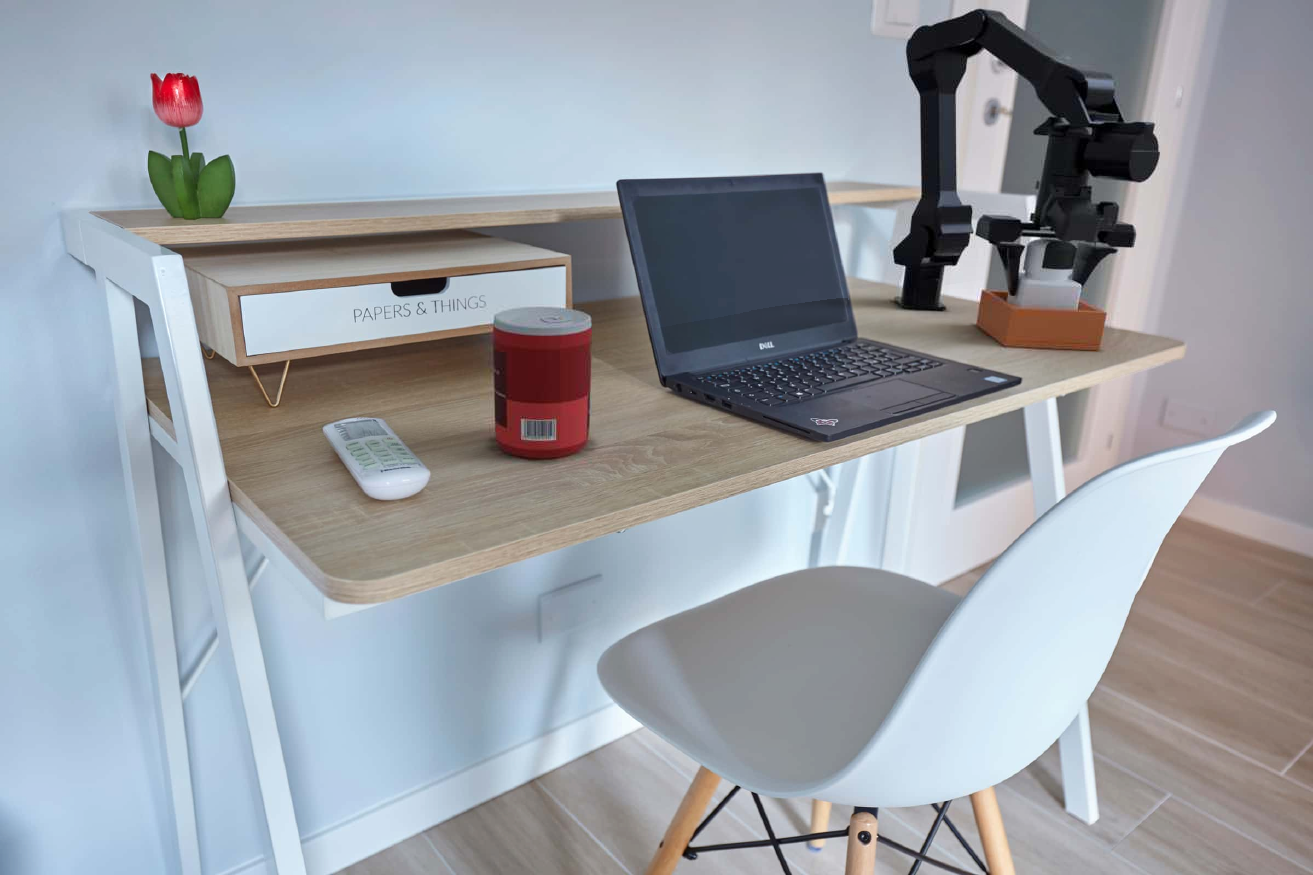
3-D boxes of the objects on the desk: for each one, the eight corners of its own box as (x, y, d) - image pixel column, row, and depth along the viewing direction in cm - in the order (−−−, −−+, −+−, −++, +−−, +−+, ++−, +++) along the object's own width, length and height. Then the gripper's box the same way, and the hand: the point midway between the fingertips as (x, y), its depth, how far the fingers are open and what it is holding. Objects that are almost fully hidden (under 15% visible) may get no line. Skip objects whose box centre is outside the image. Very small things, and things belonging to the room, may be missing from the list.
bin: (975, 325, 131) (981, 289, 129) (1061, 329, 131) (1068, 293, 129) (1005, 346, 119) (1011, 308, 117) (1099, 350, 119) (1107, 312, 118)
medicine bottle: (1055, 327, 128) (1072, 238, 124) (1072, 339, 121) (1090, 246, 117) (1002, 323, 128) (1017, 235, 124) (1016, 335, 122) (1032, 242, 118)
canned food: (607, 446, 79) (611, 319, 75) (532, 468, 74) (531, 332, 70) (551, 422, 84) (552, 302, 80) (477, 441, 79) (473, 313, 75)
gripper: (1013, 177, 110) (992, 306, 115) (1170, 184, 110) (1141, 313, 116) (984, 170, 121) (965, 289, 126) (1127, 176, 121) (1102, 295, 126)
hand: (1042, 297), depth 123 cm, fingers open, 8 cm apart
